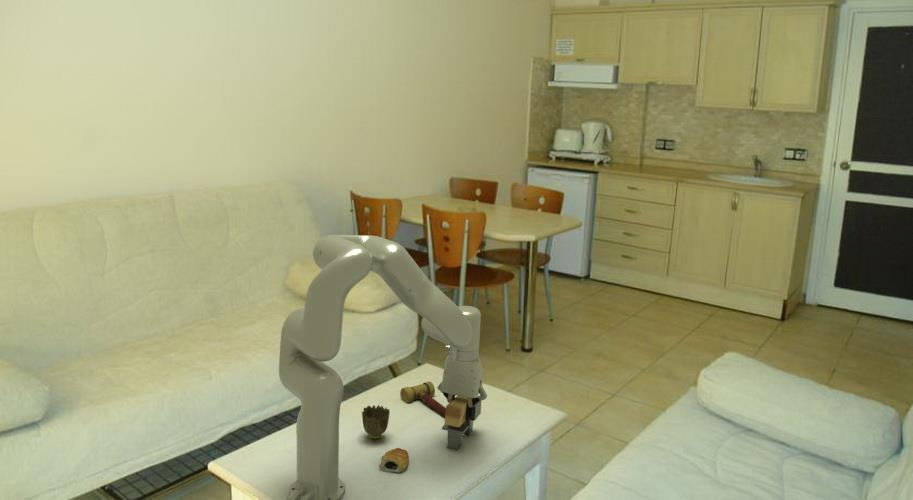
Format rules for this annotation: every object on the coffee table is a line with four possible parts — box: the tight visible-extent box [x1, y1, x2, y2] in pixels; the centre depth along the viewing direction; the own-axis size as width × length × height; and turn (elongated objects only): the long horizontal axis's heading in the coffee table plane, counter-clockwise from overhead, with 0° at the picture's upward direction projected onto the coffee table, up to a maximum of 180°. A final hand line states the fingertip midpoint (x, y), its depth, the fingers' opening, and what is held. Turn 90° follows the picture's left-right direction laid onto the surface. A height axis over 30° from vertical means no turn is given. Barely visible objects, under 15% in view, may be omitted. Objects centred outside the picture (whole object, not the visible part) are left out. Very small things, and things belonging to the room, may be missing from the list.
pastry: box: [378, 447, 410, 473], centre depth 180 cm, size 9×7×4 cm
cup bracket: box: [462, 401, 482, 437], centre depth 197 cm, size 5×6×10 cm
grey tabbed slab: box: [441, 423, 468, 452], centre depth 190 cm, size 4×6×6 cm, turn 69°
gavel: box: [399, 381, 446, 419], centre depth 212 cm, size 21×5×10 cm
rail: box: [444, 395, 468, 427], centre depth 191 cm, size 12×4×5 cm, turn 159°
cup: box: [361, 404, 391, 441], centre depth 192 cm, size 8×7×8 cm
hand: (460, 416), depth 192 cm, fingers closed on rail, 4 cm apart
